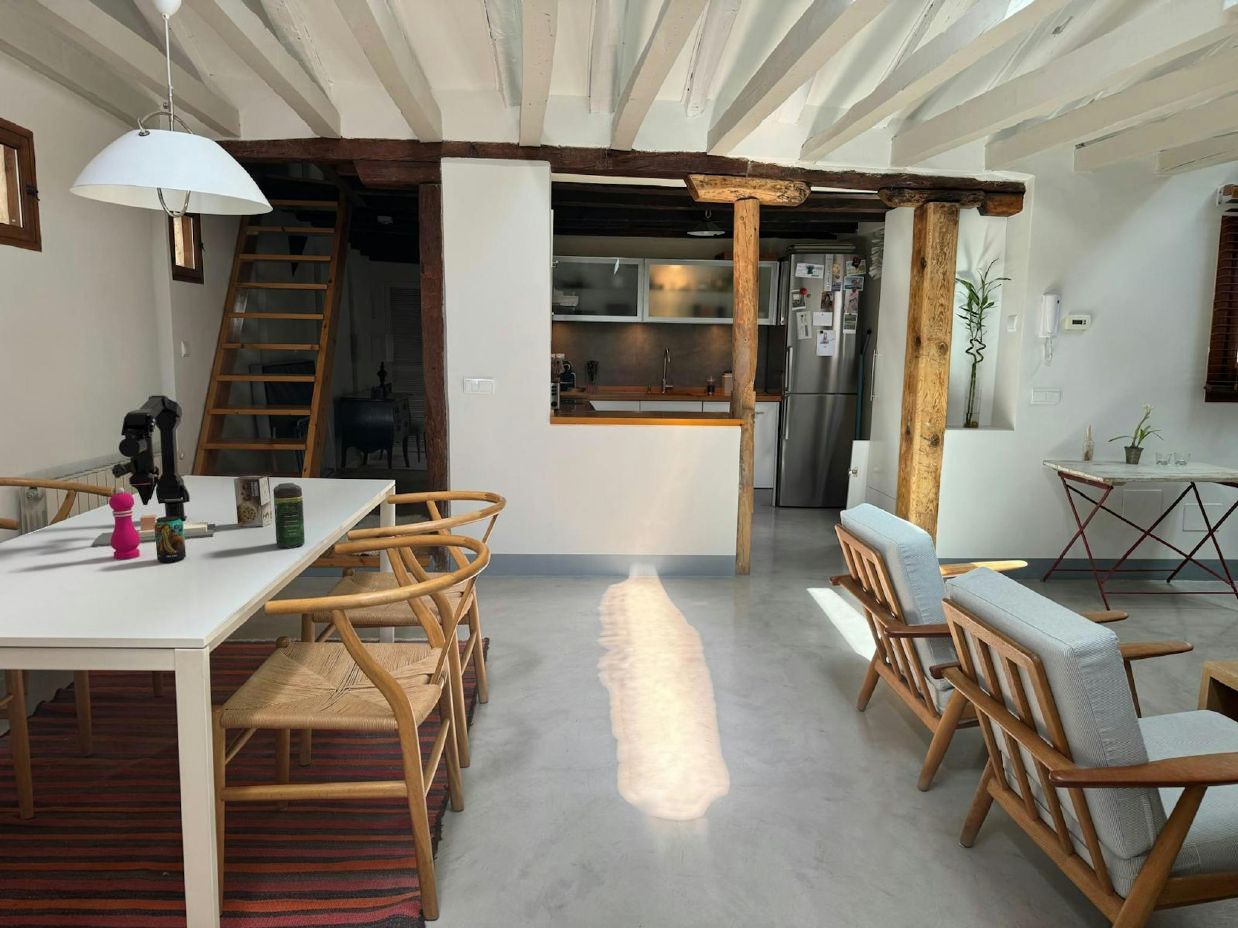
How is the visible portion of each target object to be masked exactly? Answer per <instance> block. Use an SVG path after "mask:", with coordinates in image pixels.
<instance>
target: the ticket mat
mask: <svg viewBox="0 0 1238 928" xmlns="http://www.w3.org/2000/svg"><path fill="white" fill-rule="evenodd" d="M183 526H184V538H185V540H189V539H190V538H192V539H201V538H211V537H212V538H213V537H214V533H215V530H216V523H208V522H207V521H203V522H193V523H192V522H191V523H183ZM136 531H137V533H138V532H139V531H140V529H136ZM112 534H113V531H110V532H102V533H100V534H99V536H98V537H97V539H96V540H95V541H94V542H93V543H92V548H97V546H101V547H111V537H112ZM138 534H139V533H138ZM153 542H154V543H156V539H155V536H151V537H140V544H144V543H153Z"/></svg>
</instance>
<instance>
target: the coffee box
mask: <svg viewBox="0 0 1238 928" xmlns="http://www.w3.org/2000/svg"><path fill="white" fill-rule="evenodd" d="M233 483H234V495H235V507H236V519H237V527H256V526H263V527H266V526H268V525H271V524H273V515H272V512H273V511H272V500H271V498H272V497H271V488H270V487H271V486H270V476H269V475H242V476H239V477H236V478H234V479H233Z"/></svg>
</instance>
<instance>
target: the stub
mask: <svg viewBox="0 0 1238 928" xmlns="http://www.w3.org/2000/svg"><path fill="white" fill-rule="evenodd" d="M156 519H158V517H157V514H148V515H147V514H146V515H141V516H140V517H139V523H140V529H139V530H140V531H139V532H138V533H139V537H151V536H155V528H154V526H155V524H156V522H157V520H156Z"/></svg>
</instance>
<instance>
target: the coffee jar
mask: <svg viewBox="0 0 1238 928" xmlns="http://www.w3.org/2000/svg"><path fill="white" fill-rule="evenodd" d="M302 491H303V490H302V487H301V486H299V485H298V484H296V483H294V482H284V483H279V484H277V485H275V486H274V488H273V490H272V492H273V504H274V505H273V506H274V523H275V524H274V525H275V526H274V527H275V538H276V539H275V540H276V545H277V546H278V548H288V549H291V548H296V547H299V546H300V545H301V546H303V545H304V544H305V539H306V538H305V525H304V524H305V522H304V521H305V520H304V501H303V492H302Z"/></svg>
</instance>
